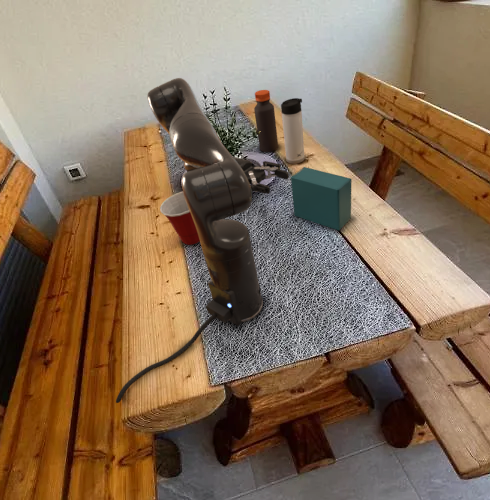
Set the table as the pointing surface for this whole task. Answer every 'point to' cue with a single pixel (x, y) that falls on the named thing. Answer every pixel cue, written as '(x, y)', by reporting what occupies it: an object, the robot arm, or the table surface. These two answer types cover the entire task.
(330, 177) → the matte teal cuboid
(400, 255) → the table surface
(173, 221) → the plastic cup
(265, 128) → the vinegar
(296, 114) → the travel mug
